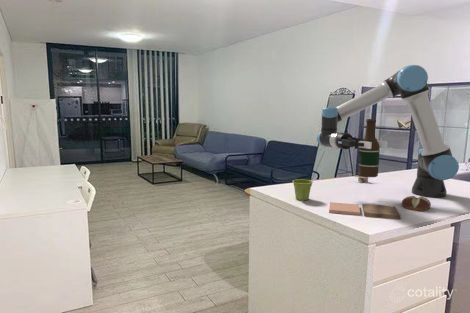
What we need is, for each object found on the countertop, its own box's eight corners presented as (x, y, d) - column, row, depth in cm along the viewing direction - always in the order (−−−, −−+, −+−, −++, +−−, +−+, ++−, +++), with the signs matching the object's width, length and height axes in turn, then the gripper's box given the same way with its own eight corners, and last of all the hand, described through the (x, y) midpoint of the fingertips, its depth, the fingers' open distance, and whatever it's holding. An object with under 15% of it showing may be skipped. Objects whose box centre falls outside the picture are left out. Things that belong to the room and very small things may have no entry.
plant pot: (312, 202, 150) (313, 183, 149) (291, 201, 152) (292, 182, 151) (311, 197, 159) (312, 179, 158) (292, 196, 161) (292, 178, 160)
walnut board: (395, 209, 138) (395, 206, 138) (400, 219, 126) (400, 215, 126) (362, 207, 142) (362, 203, 142) (364, 216, 130) (364, 212, 130)
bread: (432, 207, 143) (433, 196, 142) (426, 213, 134) (427, 201, 134) (405, 202, 150) (405, 192, 150) (397, 208, 142) (398, 196, 141)
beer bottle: (368, 178, 134) (372, 119, 130) (354, 174, 141) (356, 118, 137) (382, 176, 137) (385, 119, 134) (367, 173, 144) (370, 118, 141)
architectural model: (366, 184, 191) (366, 171, 190) (354, 182, 195) (354, 170, 194) (367, 183, 193) (368, 170, 192) (356, 181, 197) (356, 169, 196)
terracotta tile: (358, 207, 142) (358, 204, 142) (360, 215, 131) (360, 212, 131) (330, 204, 146) (330, 202, 146) (329, 212, 135) (329, 209, 135)
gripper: (358, 147, 158) (397, 153, 136) (323, 149, 151) (358, 155, 129) (359, 132, 157) (398, 135, 135) (323, 133, 150) (359, 136, 128)
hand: (378, 145), depth 132 cm, fingers closed on beer bottle, 7 cm apart
